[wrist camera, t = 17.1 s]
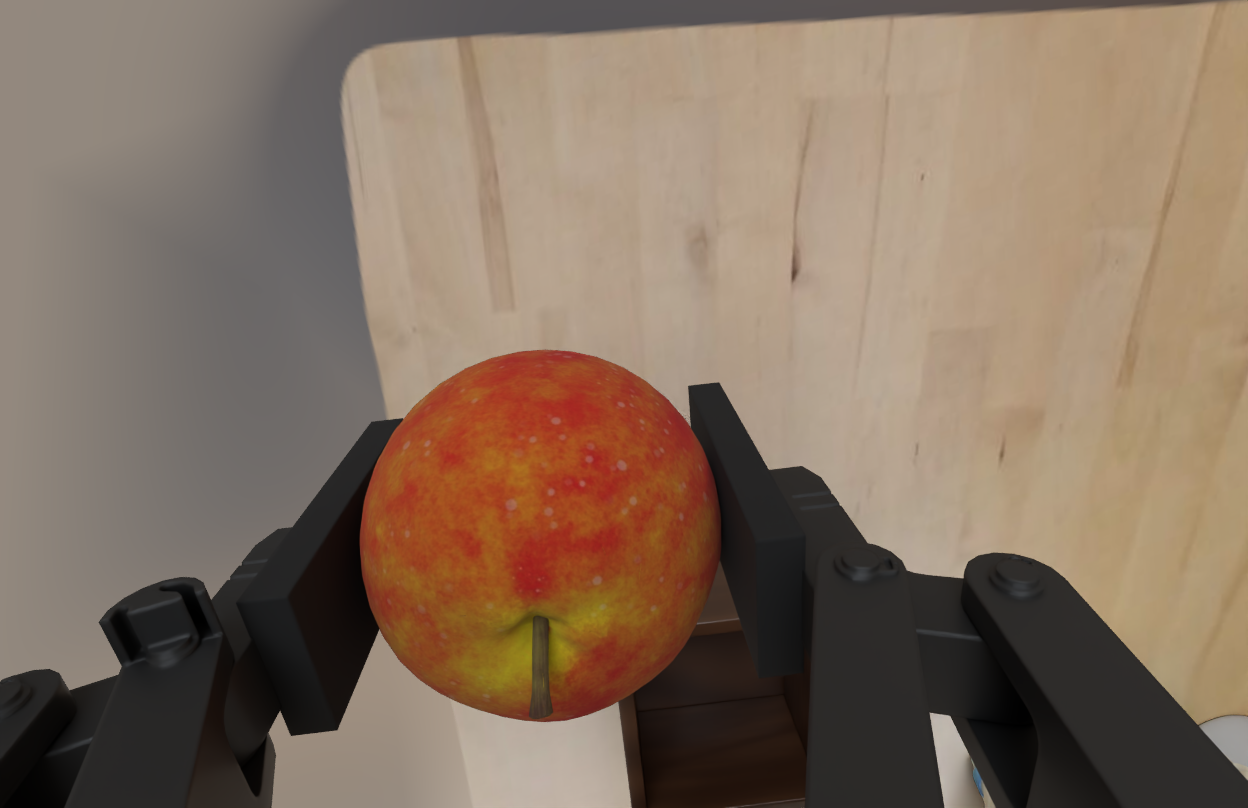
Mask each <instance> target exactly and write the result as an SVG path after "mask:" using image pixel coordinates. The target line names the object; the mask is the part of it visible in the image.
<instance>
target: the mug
mask: <svg viewBox="0 0 1248 808" xmlns="http://www.w3.org/2000/svg"><path fill="white" fill-rule="evenodd" d="M1199 727H1200V728H1201V729H1202V730H1203V731H1204V733H1205V734H1206V735H1207V736H1208V737H1209V738H1210V739H1211V740H1212V741H1213V742H1214V744H1215V745H1216V746H1217V747H1218V748H1219V749H1220V750H1221V751H1222V752H1223V753H1224V754H1225V755H1226V756H1227V757H1228V758H1229V759H1230V760H1231V761H1232V762H1233V763H1238V764H1241V765H1244V766H1247V767H1248V717H1247V716H1242V715H1230V716H1224V717H1219V718H1216V719H1212V720H1210V721H1207V722H1205V723H1203V724H1201V725H1199Z"/></svg>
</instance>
